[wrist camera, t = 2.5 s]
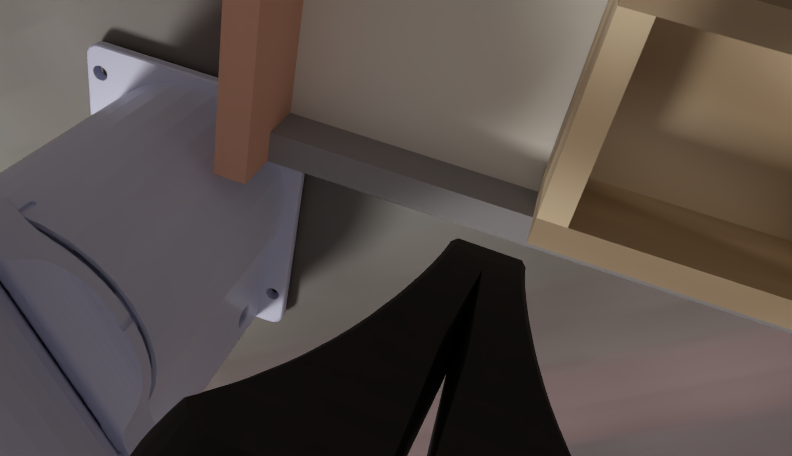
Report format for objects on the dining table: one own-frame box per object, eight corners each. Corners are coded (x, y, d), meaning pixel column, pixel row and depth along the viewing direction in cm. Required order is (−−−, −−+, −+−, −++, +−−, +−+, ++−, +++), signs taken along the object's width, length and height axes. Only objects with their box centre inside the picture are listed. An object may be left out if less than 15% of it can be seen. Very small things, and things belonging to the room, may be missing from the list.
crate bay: (849, 304, 21) (887, 399, 18) (271, 118, 24) (213, 173, 20) (1103, -27, 16) (1225, 27, 12) (306, -231, 18) (234, -231, 15)
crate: (816, 265, 20) (846, 348, 17) (541, 179, 21) (526, 242, 18) (983, 27, 16) (1059, 83, 13) (633, -67, 17) (632, -34, 14)
